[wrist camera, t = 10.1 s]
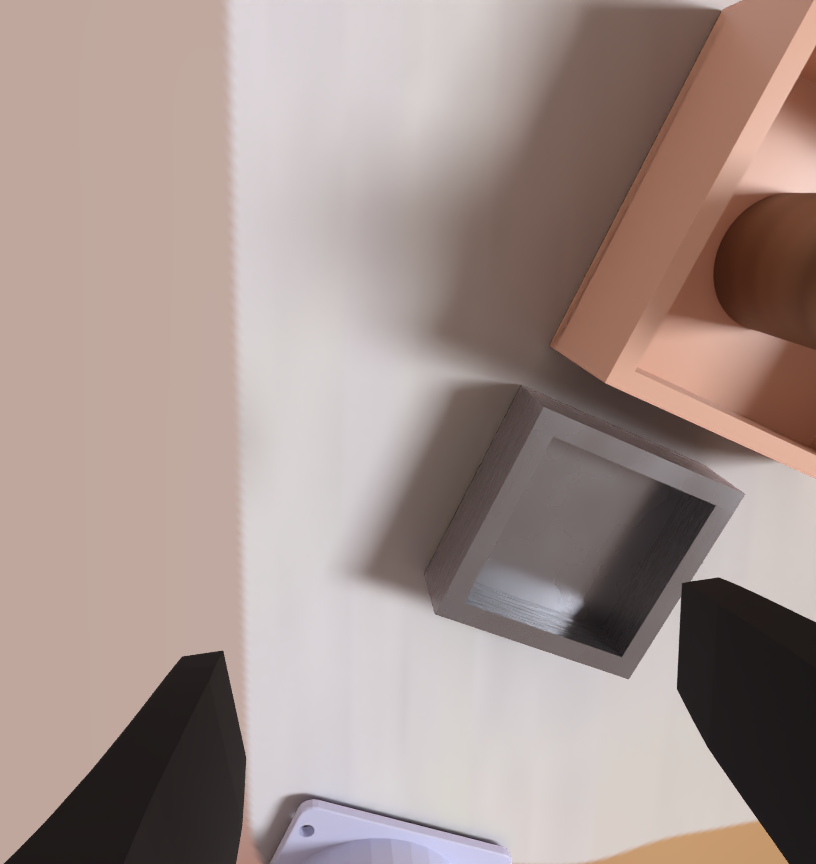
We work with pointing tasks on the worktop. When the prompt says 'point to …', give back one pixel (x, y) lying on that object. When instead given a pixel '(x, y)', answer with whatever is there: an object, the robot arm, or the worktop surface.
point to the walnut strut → (771, 268)
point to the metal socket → (576, 536)
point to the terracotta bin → (710, 242)
